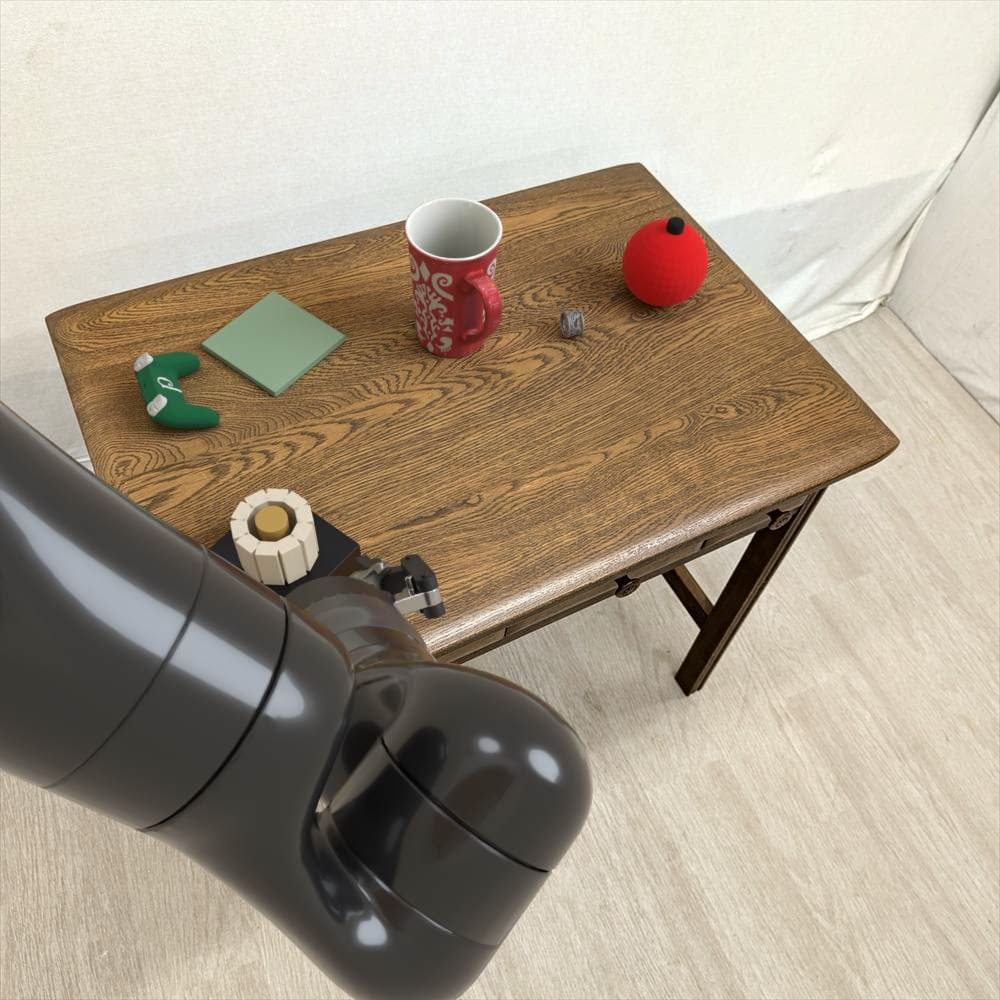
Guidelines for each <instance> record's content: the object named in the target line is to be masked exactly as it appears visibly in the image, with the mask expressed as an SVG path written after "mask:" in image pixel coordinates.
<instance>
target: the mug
mask: <svg viewBox="0 0 1000 1000" xmlns="http://www.w3.org/2000/svg"><path fill="white" fill-rule="evenodd" d="M503 233H504V228H503V223H502V221H501V219H500V217H499V215H497V214H496V212H495V211H494V210H492V208H490V207H488V206H487V205H485V204H484V203H481V202H478V201H476V200H473V199H470V198H464V197H455V196H453V197H450V196H448V197H447V196H446V197H439V198H434V199H430V200H428V201H426V202H424V203H421V204H420V205H417V207H415V208H414V209H413V210H412V211H411V212H410V213H409V215H407V218H406V220H405V222H404V234H405V235H404V236H405V238H406V241H407V245H408V258H409V268H410V276H411V286H412V297H413V298H412V299H413V309H414V321H415V332H416V337H417V340H418V342H419V344H420V345H421V346H422V347H423V348H424V349H426V350H427V351H428V352H430V353H431V354H434V355H436V356H439V357H443V358H452V359H453V358H462V357H466V356H469V355H471V354H473V353H475V352H476V351H478V350H479V349H481V346H483V345H484V343H485V341H486V339H487V338H489V337H491V336H492V335H493V334H494V333H495V332H496V331H497V330H498V329H499V326H500V325H501V321H502V319H503V318H502V316H503V300H502V296H501V293H500V290H499V288H498V286H497V285H496V283H495V276H496V269H497V262H498V255H499V247H500V243H501V240H502V239H503Z"/></svg>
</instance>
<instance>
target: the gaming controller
mask: <svg viewBox="0 0 1000 1000" xmlns="http://www.w3.org/2000/svg"><path fill="white" fill-rule="evenodd" d="M200 366H201V360H200V358H199V357H198V356H197V355H195V354H194V353H192V352H187V351H173V352H172V351H171V352H165V353H160V354H149V353H148V352H146V351H145V352H143V353H142V355H140V356H139V357H138V358H137V359H136V361H135V362H134V365H133V370H134V371H133V372H134V376H135V378H136V380H137V384H138V388H139V392H140V394H141V397H142V401H143V402H144V405H145V410H146V412H147V415H148V416H149V418H150V419H152V420H153V421H154V422H156V423H158V424H159V425H160V426H163V427H165V428H166V427H169V428H174V429H187V430H191V429H192V430H194V429H207V428H212V427H217V426H220V417H221V416H220V415H221V414H220V412H218V411H216V410H214V409H212V408H210V407H208V406H204V405H199V404H198V405H197V404H194V403H188V402H186V399H185V397H184V394H183V390H182V388H181V385H180V383H179V380H178V379H179V378H181V377H184V376H187V375H190V374H193V373H194V372H195V371H197V370H198V369H199V368H200Z"/></svg>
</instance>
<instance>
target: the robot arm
mask: <svg viewBox="0 0 1000 1000" xmlns="http://www.w3.org/2000/svg"><path fill="white" fill-rule="evenodd" d="M356 562H357V565H358V569H359V571H356V572H354V573H353V574H351V575H350V576H349V577H345V576H329V577H323V578H318V579H315V580H312V581H309V582H307V583H305V584H303V585H301V586H299V587H297V588H296V589H294V590H293V591H291V592H290V593H289V594H288V595H287V596H285V597H282V596H280V595H278V594H277V593H275V592H274V591H273V590H271V589H270V588H268V587H266V586H265V585H263V584H262V583H260V582H259V581H257V580H256V579H254V578H253V577H251V576H250V575H248V574H246V573H245V572H243V571H242V570H240V569H239V568H237V567H236V566H234V565H233V564H231V563H229V562H228V561H226V560H225V559H223V558H222V557H220V556H219V555H217V554H216V553H214V552H212V551H211V550H209V548H208V547H206V546H205V545H203V544H202V543H200V542H199V541H197V540H196V539H194V538H193V537H191V536H189V535H187V534H186V533H184V532H183V531H181V530H180V529H178V528H176V527H175V526H174V525H172V524H171V523H168V522H167V521H166V520H164V519H162V518H161V517H159V516H158V515H156V514H154V513H153V512H151V511H150V510H148V509H147V508H145V507H144V506H142V505H140V504H139V503H138V502H136V501H134V500H133V499H131V498H130V497H129V496H128V495H126V494H124V493H123V492H122V491H120V490H119V489H117V488H116V487H114V486H113V485H111V484H110V483H108V482H107V481H106V480H104V478H102V477H100V476H99V475H97V474H96V473H95V472H93V471H91V470H90V469H88V468H87V467H86V466H84V465H83V464H82V463H80V462H79V461H78V460H77V459H76V458H74V457H73V456H71V455H70V454H69V453H67V452H66V451H65V450H64V449H62V448H61V447H60V446H58V444H56V443H55V442H54V441H51V440H50V438H48V437H46V435H45V434H42V432H40V431H39V430H38V429H36V428H35V427H34V426H33V425H31V424H30V423H29V422H28V421H26V420H25V419H24V418H23V417H22V416H20V415H19V414H18V413H17V412H16V411H14V410H13V409H12V408H10V406H8V405H7V404H6V403H4V402H3V401H2V400H1V399H0V771H1V772H3V773H5V774H8V775H9V776H12V777H14V778H16V779H19V780H21V781H22V782H23V781H24V782H26V783H28V784H30V785H32V786H35V787H37V788H40V789H43V790H44V791H47V792H49V793H52V794H54V795H56V796H58V797H59V798H62V799H65V800H67V801H70V802H72V803H74V804H76V805H78V806H81V807H83V808H85V809H87V810H89V811H92V812H94V813H97V814H99V815H101V816H103V817H105V818H108V819H109V820H112V821H115V822H117V823H119V824H121V825H123V826H126V827H128V828H131V829H133V830H135V831H136V832H139V833H141V834H144V835H146V836H148V837H151V838H152V839H153V838H154V839H156V840H157V841H159V842H162V843H164V844H166V845H168V846H169V847H171V848H172V849H174V850H176V851H178V852H179V853H181V854H182V855H184V856H185V857H186V858H188V859H189V860H191V861H193V862H194V863H195V864H197V865H198V866H200V867H201V868H202V869H203V870H205V871H206V872H208V873H209V875H212V876H213V877H214V878H215V879H217V880H218V881H219V882H221V883H222V884H223V885H225V887H227V888H228V889H230V890H231V891H232V892H233V893H234V894H236V895H237V896H239V897H240V898H241V899H242V900H243V901H245V903H247V904H248V905H249V906H251V907H252V908H253V909H254V910H256V911H257V912H258V913H259V914H261V915H262V916H263V917H264V918H265V919H267V921H268V922H270V924H272V925H273V926H274V927H275V928H276V929H277V930H278V931H280V932H281V934H283V935H284V936H285V937H286V938H287V939H288V940H289V941H290V942H291V943H292V944H293V945H294V946H295V947H296V948H297V949H298V950H299V951H300V952H301V953H302V954H303V955H304V956H305V957H306V958H307V960H309V961H310V962H311V963H312V964H313V965H314V966H315V967H316V968H317V969H318V970H319V971H320V972H321V973H322V974H323V975H324V976H325V977H327V979H328V980H329V981H330V982H331V983H332V984H334V985H335V986H336V987H338V989H340V990H341V991H342V992H344V993H345V994H346V995H347V996H349V997H350V998H352V999H353V1000H458V999H459V998H460V997H461V996H462V995H464V994H465V993H466V992H467V991H468V990H469V989H470V987H472V985H474V983H476V981H477V979H478V978H479V977H480V976H481V974H482V973H483V972H484V970H485V969H486V968H487V966H488V965H489V963H491V960H492V959H493V958H494V956H495V955H496V954H497V953H498V951H499V949H500V948H501V946H502V945H503V943H504V941H505V940H506V939H507V938H508V936H509V935H510V933H511V932H512V930H513V929H514V927H515V926H516V925H517V923H518V922H519V921H520V919H521V917H522V916H523V915H524V913H525V912H526V911H527V909H528V908H529V907H530V905H531V903H533V901H534V899H535V898H536V897H537V895H538V894H539V892H540V891H541V890H542V888H543V887H544V886H545V884H546V883H547V881H548V880H549V879H550V877H551V876H552V874H553V871H554V870H556V869H557V867H558V866H559V864H560V863H561V862H562V860H563V859H564V858H565V856H566V854H567V853H568V852H569V850H570V849H571V848H572V847H573V845H574V843H575V842H576V841H577V839H578V838H579V835H580V834H581V833H582V830H583V828H584V826H585V824H586V823H587V821H588V819H589V815H590V812H591V808H592V803H593V795H594V779H593V772H592V767H591V763H590V762H591V761H590V758H589V756H588V753H587V750H586V748H585V745H584V743H583V741H582V739H581V738H580V736H579V735H578V732H577V731H576V729H575V728H574V727H573V726H572V725H571V723H570V722H569V721H568V720H567V719H566V718H565V717H564V715H563V714H562V713H560V712H559V710H557V709H556V708H555V707H554V706H553V705H551V704H550V703H549V702H547V701H545V700H544V699H542V698H541V697H540V696H538V694H536V693H534V692H533V691H531V690H530V689H527V688H526V687H524V686H522V685H520V684H518V683H516V682H514V681H512V680H509V679H508V678H505V677H502V676H500V675H497V674H494V673H491V672H488V671H486V670H482V669H478V668H475V667H471V666H467V665H462V664H460V663H453V662H445V661H438V660H437V659H436V658H435V656H434V655H433V654H432V653H431V650H430V649H429V647H428V645H427V643H426V641H425V640H424V638H423V636H422V635H421V633H420V632H419V631H418V630H417V628H415V627H414V625H413V624H412V623H411V622H410V621H409V620H408V619H407V618H406V616H405V615H409V614H411V613H414V616H421V615H423V616H424V617H425V619H428V620H433V619H439V618H440V617H442V616H444V615H445V614H446V613H447V612H446V607H445V603H444V600H443V597H442V593H441V590H440V585H439V582H438V579H437V575H436V572H435V571H434V570H433V569H432V568H431V567H430V565H428V563H426V562H425V560H424V559H423V558H422V557H421V556H420V555H419V554H418V553H417V554H416V553H415V554H412V553H409V554H406V555H405V556H404V557H401V558H400V559H399V563H400V565H399V564H398V565H395V566H391V563H390V561H389V560H387V561H385V560H384V561H383V560H382V559H381V558H377V557H374V558H370V557H369V556H368V555H367V554H363V555H361V556H360V557H357V558H356ZM320 801H321V802H322V804H324V806H325V807H324V808H323V810H321V811H317V809H318V805H319V802H320Z"/></svg>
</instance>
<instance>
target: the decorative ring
mask: <svg viewBox="0 0 1000 1000" xmlns="http://www.w3.org/2000/svg"><path fill="white" fill-rule="evenodd" d="M583 313H584V310H582V309H580V308H576V309H575V310H572V311H571V310H562V311H561V312H560V315H559V316H560V317H559V325H560V331H561V333H562V336H563V337H564V338H566V339H568V338H570V337H571V338H572V337H574V336H577V335H578V336H579V337H582V336H583V335H584V333H585V318H584V314H583ZM579 321H580V322H579Z"/></svg>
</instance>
